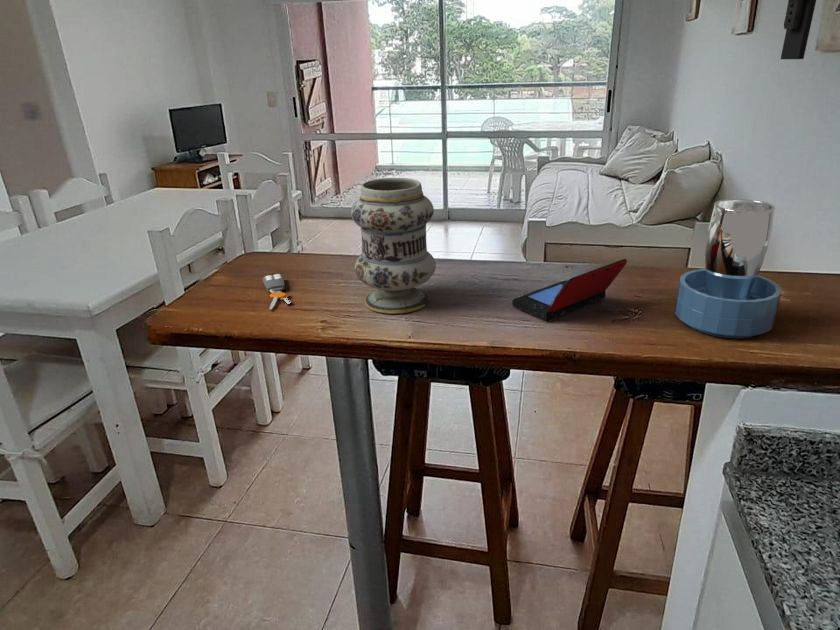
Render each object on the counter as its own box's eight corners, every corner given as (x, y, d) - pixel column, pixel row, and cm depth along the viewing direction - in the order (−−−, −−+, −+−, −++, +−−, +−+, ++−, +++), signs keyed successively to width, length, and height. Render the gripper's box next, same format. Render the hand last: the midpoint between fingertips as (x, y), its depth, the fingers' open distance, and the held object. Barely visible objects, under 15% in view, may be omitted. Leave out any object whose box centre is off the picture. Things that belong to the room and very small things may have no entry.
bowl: (728, 300, 83) (735, 264, 80) (793, 334, 72) (803, 294, 70) (656, 310, 80) (662, 274, 78) (713, 347, 70) (721, 306, 68)
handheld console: (567, 285, 90) (570, 240, 87) (624, 306, 82) (630, 257, 79) (508, 306, 84) (509, 258, 81) (564, 331, 76) (568, 279, 73)
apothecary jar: (427, 320, 81) (422, 193, 73) (347, 315, 83) (334, 192, 76) (443, 288, 91) (440, 174, 84) (371, 285, 94) (362, 174, 86)
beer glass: (681, 312, 78) (699, 203, 72) (719, 302, 80) (740, 195, 74) (725, 332, 72) (748, 215, 66) (764, 320, 74) (790, 207, 68)
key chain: (261, 283, 97) (259, 274, 96) (283, 279, 98) (282, 271, 97) (269, 311, 86) (267, 302, 85) (294, 307, 87) (293, 298, 86)
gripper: (944, -144, 68) (890, 52, 77) (765, -148, 63) (729, 61, 72) (1016, -165, 62) (948, 51, 70) (822, -173, 57) (776, 61, 66)
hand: (837, 57), depth 71 cm, fingers open, 13 cm apart
